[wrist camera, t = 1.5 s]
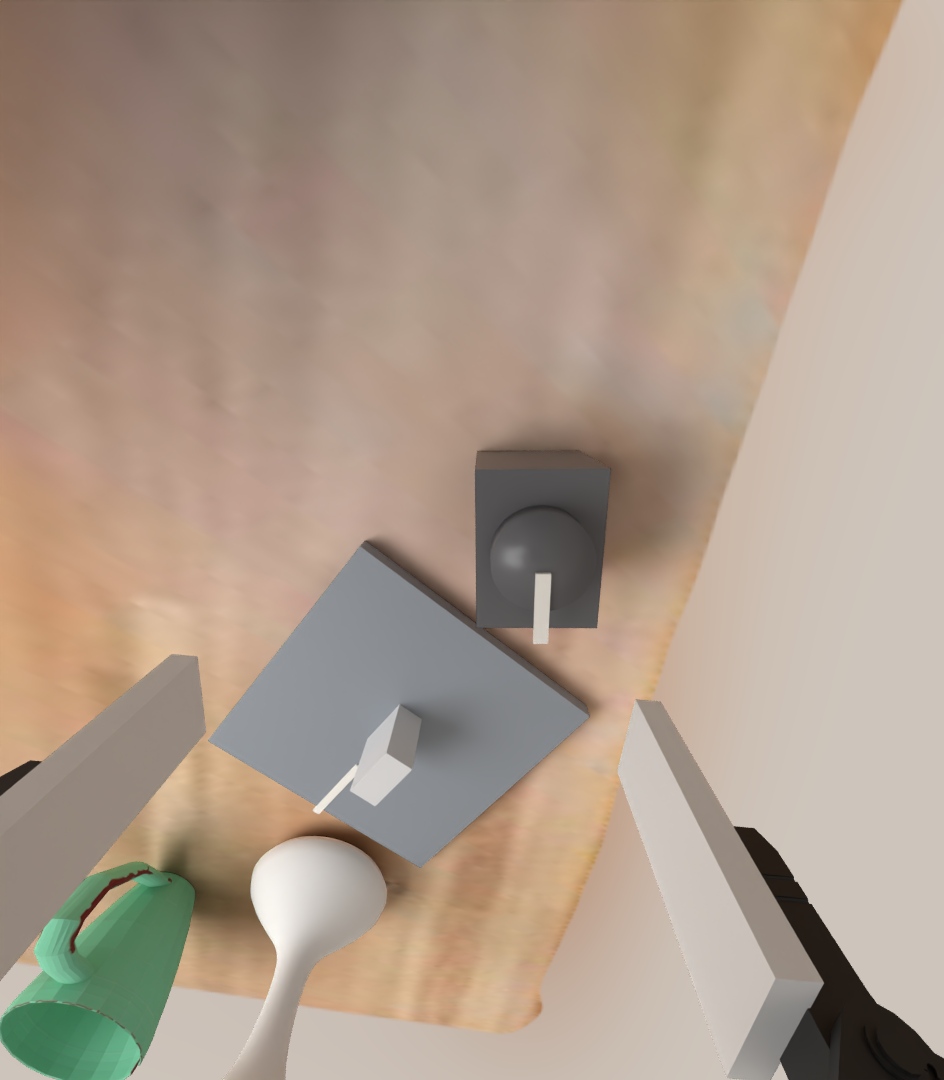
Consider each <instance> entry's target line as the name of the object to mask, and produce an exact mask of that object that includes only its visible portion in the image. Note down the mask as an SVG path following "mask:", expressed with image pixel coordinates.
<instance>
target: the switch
mask: <svg viewBox="0 0 944 1080" xmlns="http://www.w3.org/2000/svg"><path fill="white" fill-rule="evenodd" d="M589 717H590V715H589V712H588V709H587V706H586V705H585V704H584V703H582V702H581V701H580V700H578V699H577V698H576V697H574V696H573V695H572V694H570V693H569V692H567V691H566V690H565V689H563V688H562V687H561V686H559V685H558V684H557V683H555V682H554V681H553V680H551V679H550V678H549V677H547V676H546V675H545V674H543V673H542V672H541V671H539V670H538V669H537V668H535V667H534V666H533V665H531V664H530V663H529V662H527V661H526V660H525V659H523V658H522V657H521V656H519V655H518V654H517V653H515V652H514V651H512V650H511V649H510V648H508V647H507V646H506V645H504V644H503V643H502V642H500V641H499V640H498V639H496V638H495V637H494V636H492V635H491V634H490V633H488V632H487V631H486V630H484V629H483V628H476V623H475V622H474V621H472V620H471V619H470V618H468V617H467V616H466V615H464V614H463V613H461V612H460V611H459V610H457V609H456V608H455V607H453V606H452V605H451V604H449V603H448V602H447V601H445V600H444V599H443V598H441V597H440V596H439V595H437V594H436V593H435V592H433V591H432V590H431V589H429V588H428V587H427V586H425V585H424V584H423V583H421V582H420V581H419V580H417V579H416V578H415V577H413V576H412V575H411V574H409V573H408V572H406V571H405V570H404V569H402V568H401V567H400V566H398V565H397V564H396V563H394V562H393V561H392V560H390V559H389V558H388V557H386V556H385V555H384V554H382V553H381V552H380V551H378V550H377V549H376V548H374V547H373V546H372V545H370V544H369V543H368V542H366V541H364V542H363V544H362V545H361V546H360V547H359V549H358V550H357V551H356V552H355V554H354V555H353V556H352V558H351V559H350V560H349V561H348V563H347V564H346V565H345V567H344V568H343V569H342V570H341V572H340V573H339V574H338V575H337V577H336V578H335V579H334V581H333V582H332V583H331V584H330V586H329V587H328V588H327V589H326V591H325V592H324V593H323V595H322V596H321V597H320V598H319V600H318V601H317V602H316V604H315V605H314V606H313V607H312V609H311V610H310V611H309V612H308V614H307V615H306V616H305V618H304V619H303V620H302V621H301V623H300V624H299V625H298V626H297V628H296V629H295V630H294V632H293V633H292V634H291V635H290V637H289V638H288V639H287V640H286V642H285V643H284V644H283V646H282V647H281V648H280V649H279V651H278V652H277V653H276V655H275V656H274V657H273V658H272V660H271V661H270V662H269V663H268V665H267V666H266V667H265V669H264V670H263V671H262V672H261V674H260V675H259V676H258V677H257V679H256V680H255V681H254V683H253V684H252V685H251V686H250V688H249V689H248V690H247V692H246V693H245V694H244V695H243V697H242V698H241V699H240V700H239V702H238V703H237V704H236V706H235V707H234V708H233V709H232V711H231V712H230V713H229V714H228V716H227V717H226V718H225V720H224V721H223V722H222V723H221V725H220V726H219V727H218V728H217V730H216V731H215V732H214V734H213V735H212V736H211V737H210V739H209V740H208V741H209V742H210V743H212V744H214V745H215V746H217V747H219V748H220V749H222V750H224V751H225V752H227V753H229V754H230V755H232V756H234V757H235V758H237V759H239V760H241V761H242V762H244V763H246V764H247V765H249V766H251V767H252V768H254V769H256V770H257V771H259V772H261V773H262V774H264V775H266V776H267V777H269V778H271V779H272V780H274V781H276V782H277V783H279V784H281V785H282V786H284V787H286V788H287V789H289V790H291V791H292V792H294V793H296V794H297V795H299V796H301V797H302V798H304V799H306V800H307V801H309V802H311V803H312V804H314V805H316V807H315V808H314V809H313V811H314V812H316V813H317V814H320V813H321V812H322V811H323V810H324V811H326V812H327V813H329V814H331V815H332V816H334V817H336V818H337V819H339V820H341V821H343V822H344V823H346V824H348V825H349V826H351V827H353V828H354V829H356V830H358V831H359V832H361V833H363V834H364V835H366V836H368V837H369V838H371V839H373V840H374V841H376V842H378V843H379V844H381V845H383V846H384V847H386V848H388V849H389V850H391V851H393V852H394V853H396V854H398V855H399V856H401V857H403V858H404V859H406V860H408V861H409V862H411V863H413V864H414V865H416V866H418V867H419V868H421V867H422V866H423V865H424V864H425V863H427V862H428V861H429V860H430V859H431V858H432V857H433V856H434V855H436V854H437V853H438V852H439V851H440V850H441V849H442V848H443V847H445V846H446V845H447V844H448V843H449V842H450V841H451V840H452V839H453V838H455V837H456V836H457V835H458V834H459V833H460V832H461V831H462V830H464V829H465V828H466V827H467V826H468V825H469V824H470V823H471V822H473V821H474V820H475V819H476V818H477V817H478V816H479V815H480V814H482V813H483V812H484V811H485V810H486V809H487V808H488V807H489V806H490V805H492V804H493V803H494V802H495V801H496V800H497V799H498V798H499V797H501V796H502V795H503V794H504V793H505V792H506V791H507V790H508V789H510V788H511V787H512V786H513V785H514V784H515V783H516V782H517V781H519V780H520V779H521V778H522V777H523V776H524V775H525V774H526V773H527V772H529V771H530V770H531V769H532V768H533V767H534V766H535V765H536V764H538V763H539V762H540V761H541V760H542V759H543V758H544V757H545V756H547V755H548V754H549V753H550V752H551V751H552V750H553V749H554V748H556V747H557V746H558V745H559V744H560V743H561V742H562V741H563V740H564V739H566V738H567V737H568V736H569V735H570V734H571V733H572V732H573V731H575V730H576V729H577V728H578V727H579V726H580V725H581V724H582V723H584V722H585V721H586V720H587V719H588V718H589Z"/></svg>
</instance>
